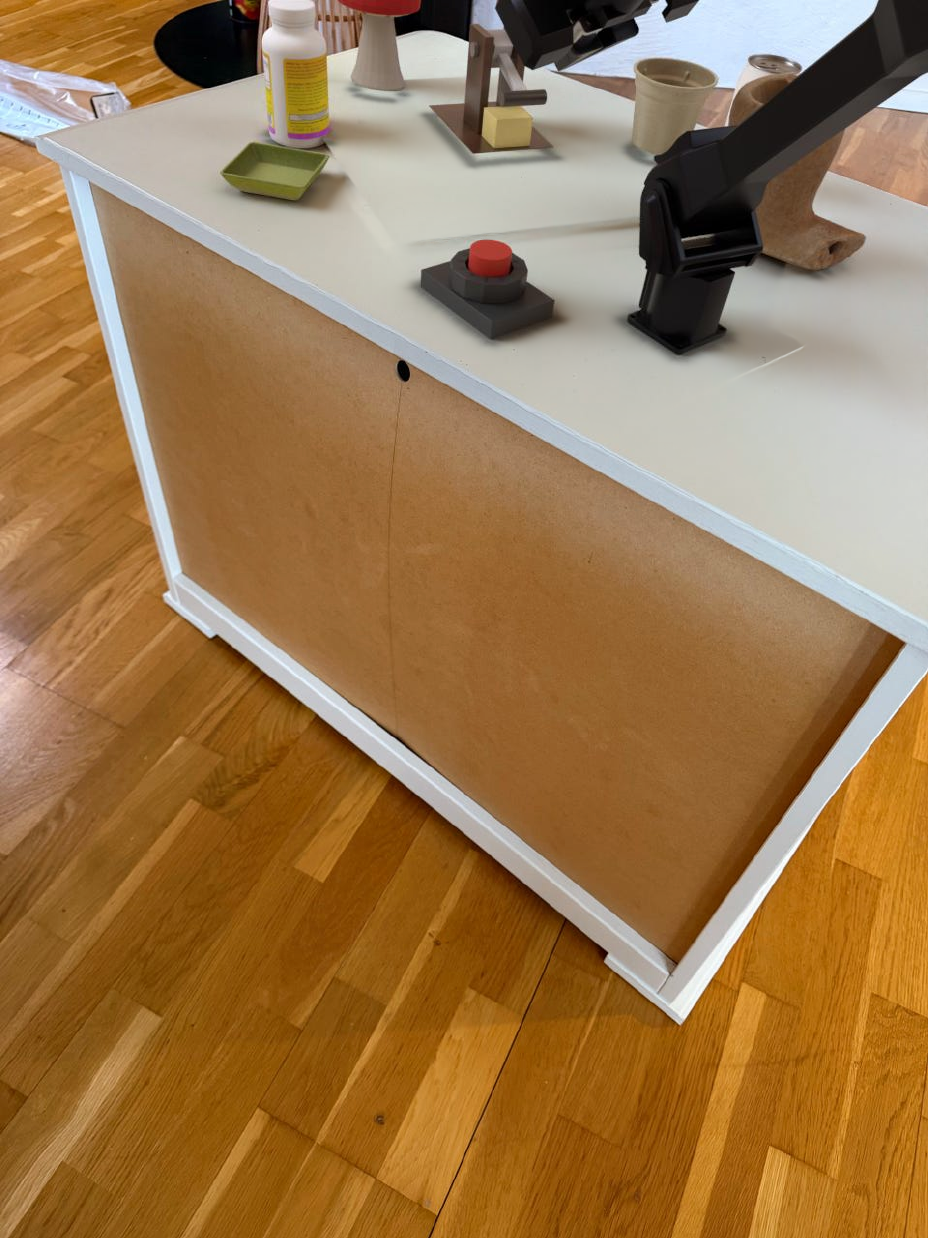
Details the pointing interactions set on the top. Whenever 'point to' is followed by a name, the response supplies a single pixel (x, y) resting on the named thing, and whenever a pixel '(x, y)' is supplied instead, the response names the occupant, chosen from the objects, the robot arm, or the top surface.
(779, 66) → the can
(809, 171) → the clay smoking pipe
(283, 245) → the top surface
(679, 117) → the flower pot
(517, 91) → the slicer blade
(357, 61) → the decorative mushroom
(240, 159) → the olive green shallow tray
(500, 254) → the button
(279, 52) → the supplement bottle
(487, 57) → the slicer
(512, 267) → the box
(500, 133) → the butter
